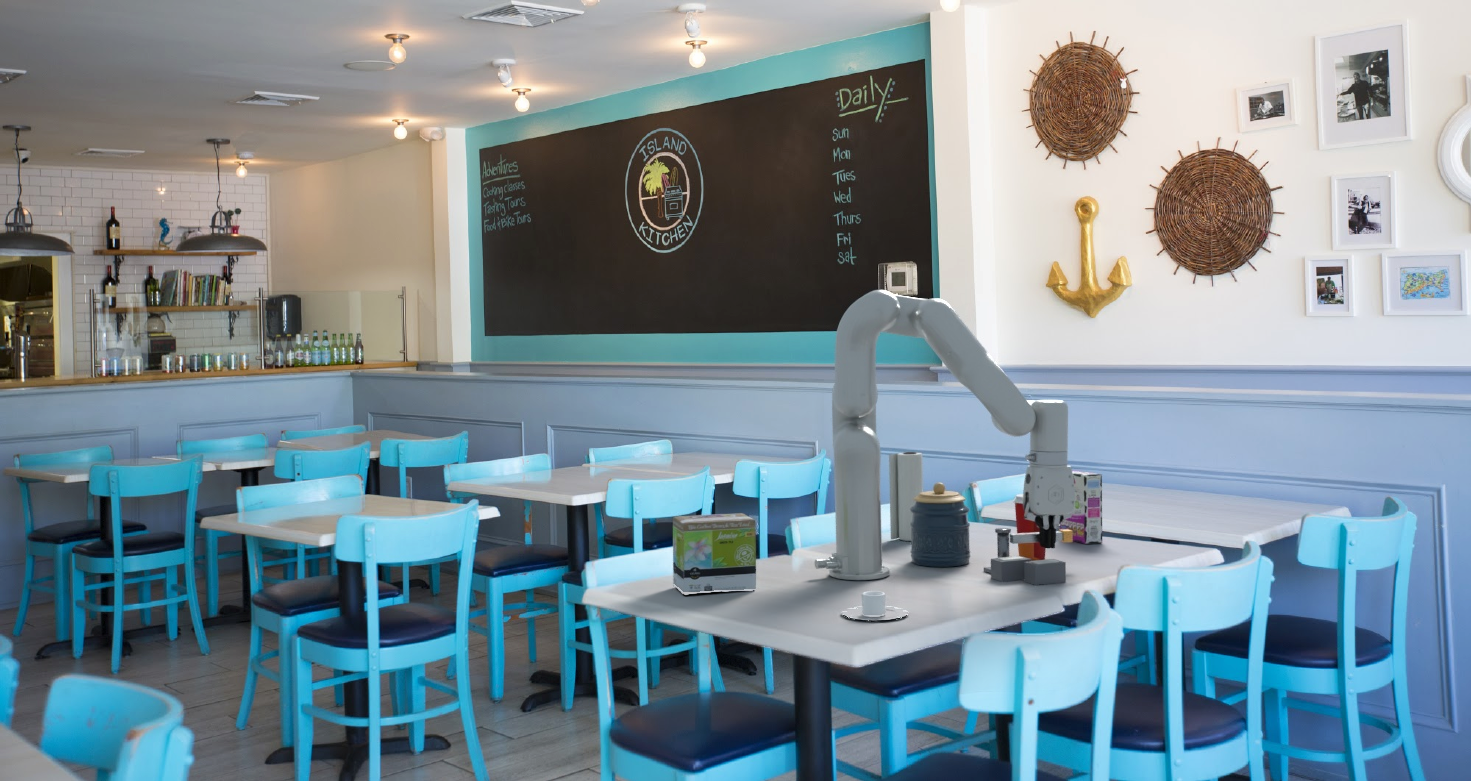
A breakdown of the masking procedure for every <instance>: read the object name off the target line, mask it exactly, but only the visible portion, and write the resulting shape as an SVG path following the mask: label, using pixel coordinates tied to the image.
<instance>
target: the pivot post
mask: <svg viewBox="0 0 1471 781" xmlns="http://www.w3.org/2000/svg"><path fill="white" fill-rule="evenodd" d="M994 532H995V533H996V536H997V538H996V540H997V544H996V545H997V546H996V548H997V558H1001V557H1010V534H1012V533H1011V532H1012V529H1011V528H1007V527H998V528H997V527H996V528H995V529H994ZM983 572H985V573H988V574H991V566H987V567H986V566H984V567H983Z"/></svg>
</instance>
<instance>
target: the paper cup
mask: <svg viewBox="0 0 1471 781" xmlns="http://www.w3.org/2000/svg"><path fill="white" fill-rule="evenodd" d="M1012 503H1014V509H1015V510H1014V512H1015V523H1016V524H1015V525H1016V533H1034V532H1039V527H1037V524H1036V523H1035V522H1034V521H1031V520H1027V519H1025V518H1024V514H1025V511H1024V509H1023V493H1018V494H1016V495H1015V497H1014V498H1013V500H1012ZM1033 514H1034V513H1033ZM1034 515H1035V514H1034ZM1017 549H1018V556H1022V557H1026V558H1029V559H1031V561H1036V560H1046V549H1047V548H1044V547H1041V546H1040V542H1035V543H1017Z"/></svg>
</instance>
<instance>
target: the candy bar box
mask: <svg viewBox="0 0 1471 781" xmlns="http://www.w3.org/2000/svg"><path fill="white" fill-rule="evenodd" d="M1072 473H1073V479H1074V488H1075V510H1074V512H1072V513H1071V514H1072V516H1071V518H1068V519H1065V520H1063V521H1062V522H1061V523H1060V524H1059V529H1069V530H1072V531H1073V542H1075V543H1076V542H1077V543H1080V544H1084V545H1093V544H1095V545H1096V544H1102V543H1103V474H1099V473H1095V472H1087V471H1081V470H1072Z"/></svg>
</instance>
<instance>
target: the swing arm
mask: <svg viewBox="0 0 1471 781" xmlns="http://www.w3.org/2000/svg"><path fill="white" fill-rule="evenodd" d="M1035 542H1039V532H1034V533H1017V532H1016V533H1009V544H1017V545H1018V543H1035ZM1056 542H1061V543H1073V542H1074V541H1073V531H1072V530H1069V529H1060V528H1058V530H1056Z"/></svg>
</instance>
